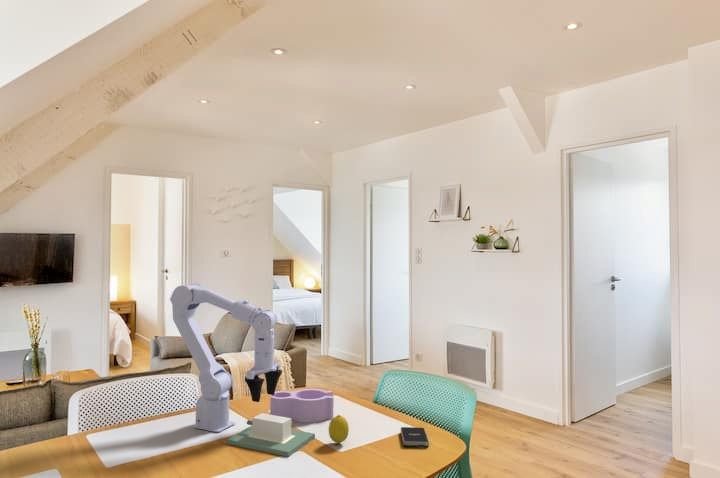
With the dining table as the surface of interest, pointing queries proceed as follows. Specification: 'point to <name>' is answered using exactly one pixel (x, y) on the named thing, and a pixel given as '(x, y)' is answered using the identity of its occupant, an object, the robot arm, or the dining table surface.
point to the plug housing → (271, 427)
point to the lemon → (338, 429)
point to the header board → (271, 442)
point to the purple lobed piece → (303, 405)
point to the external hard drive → (414, 437)
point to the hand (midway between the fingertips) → (263, 397)
